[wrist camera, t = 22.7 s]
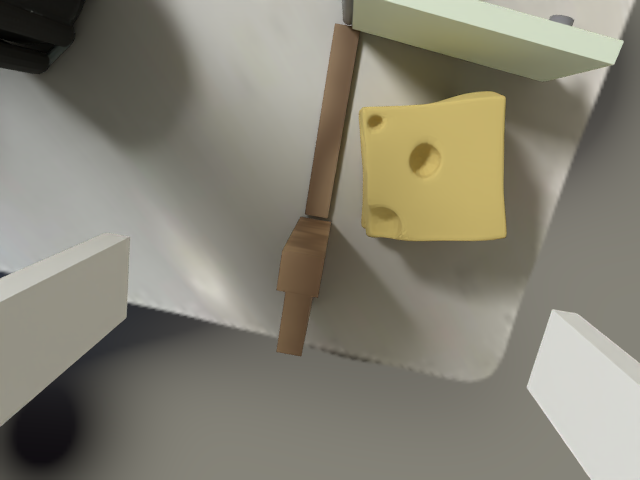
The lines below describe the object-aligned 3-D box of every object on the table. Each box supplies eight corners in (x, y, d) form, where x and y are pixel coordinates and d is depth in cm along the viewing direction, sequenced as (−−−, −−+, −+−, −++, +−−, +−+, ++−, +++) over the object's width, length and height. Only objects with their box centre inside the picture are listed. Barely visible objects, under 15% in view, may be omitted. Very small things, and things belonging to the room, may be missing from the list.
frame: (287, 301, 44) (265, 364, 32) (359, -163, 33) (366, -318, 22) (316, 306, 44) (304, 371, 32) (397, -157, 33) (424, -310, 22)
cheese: (361, 222, 41) (365, 250, 32) (354, 106, 39) (357, 98, 29) (471, 215, 40) (510, 243, 31) (473, 96, 38) (516, 85, 28)
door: (340, 25, 36) (338, -13, 26) (351, -16, 35) (352, -71, 26) (542, 82, 36) (613, 64, 27) (558, 42, 35) (636, 9, 26)
